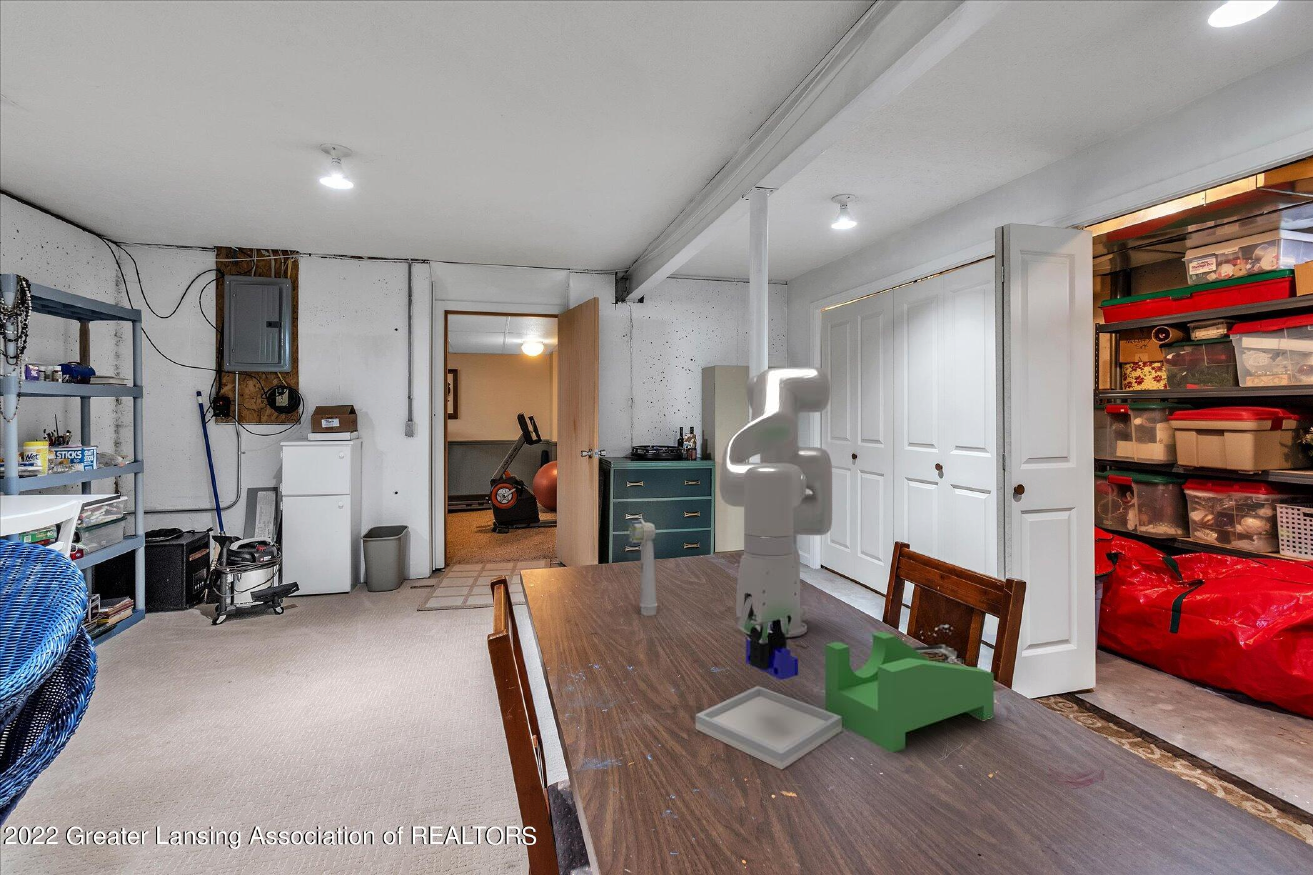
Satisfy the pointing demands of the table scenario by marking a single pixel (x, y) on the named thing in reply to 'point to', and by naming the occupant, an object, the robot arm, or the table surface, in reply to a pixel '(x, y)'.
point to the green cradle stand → (901, 690)
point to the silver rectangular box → (946, 653)
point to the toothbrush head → (645, 564)
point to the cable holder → (778, 663)
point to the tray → (769, 725)
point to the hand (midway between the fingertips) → (768, 662)
